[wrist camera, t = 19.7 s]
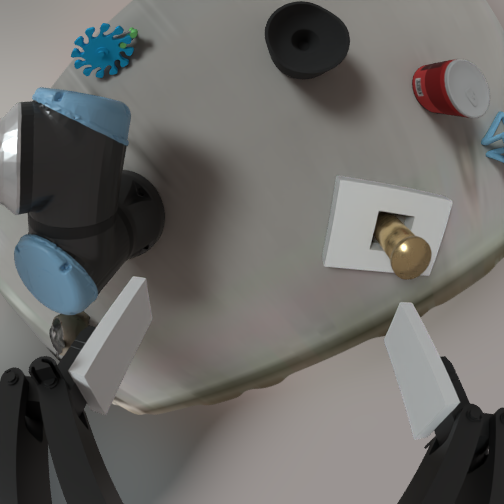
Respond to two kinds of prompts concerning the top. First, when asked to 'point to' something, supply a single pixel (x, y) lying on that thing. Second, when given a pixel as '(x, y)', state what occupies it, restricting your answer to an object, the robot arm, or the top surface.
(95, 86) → the top surface
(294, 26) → the pen holder
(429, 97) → the canned food
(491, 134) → the chair
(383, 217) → the brass ball knob
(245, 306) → the top surface
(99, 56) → the gear
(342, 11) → the top surface
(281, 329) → the top surface
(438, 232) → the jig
